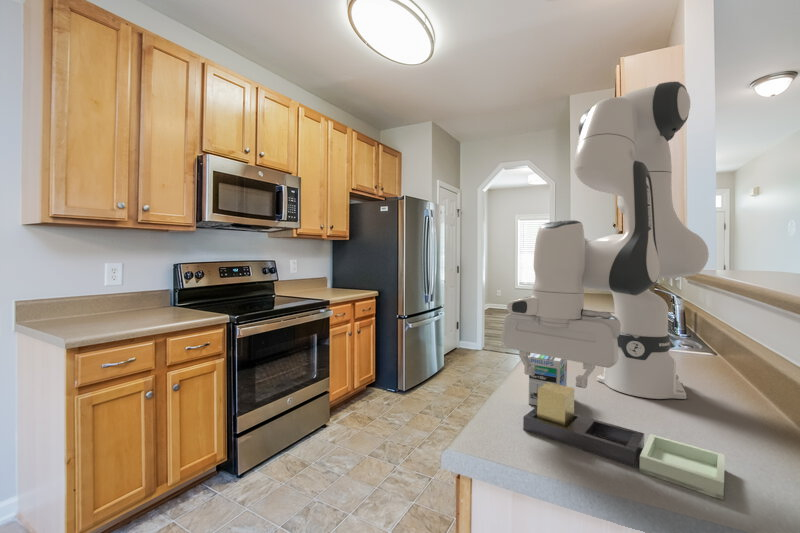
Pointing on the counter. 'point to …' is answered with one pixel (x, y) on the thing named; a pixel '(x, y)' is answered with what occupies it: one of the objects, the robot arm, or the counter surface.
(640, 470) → the tray
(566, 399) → the tan rectangular block
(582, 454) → the counter surface
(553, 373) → the light bulb box
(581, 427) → the dark grey flat frame
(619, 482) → the counter surface
